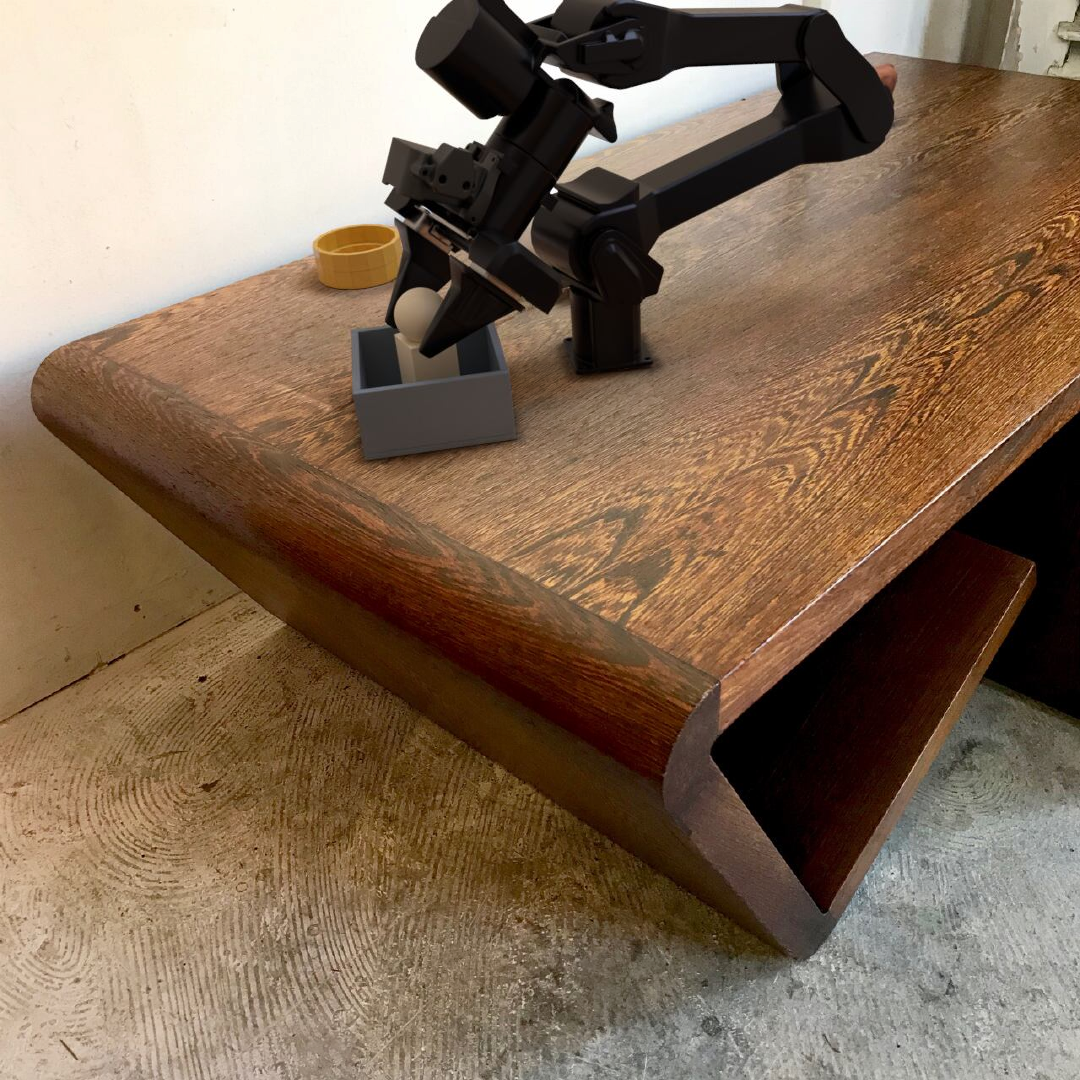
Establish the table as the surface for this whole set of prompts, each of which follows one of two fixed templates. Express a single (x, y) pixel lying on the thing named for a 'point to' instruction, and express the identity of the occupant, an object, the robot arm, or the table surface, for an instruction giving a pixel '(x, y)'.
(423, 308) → the ball-topped square peg
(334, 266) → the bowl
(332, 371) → the table surface
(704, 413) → the table surface
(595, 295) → the robot arm
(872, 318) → the table surface
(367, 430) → the bin
